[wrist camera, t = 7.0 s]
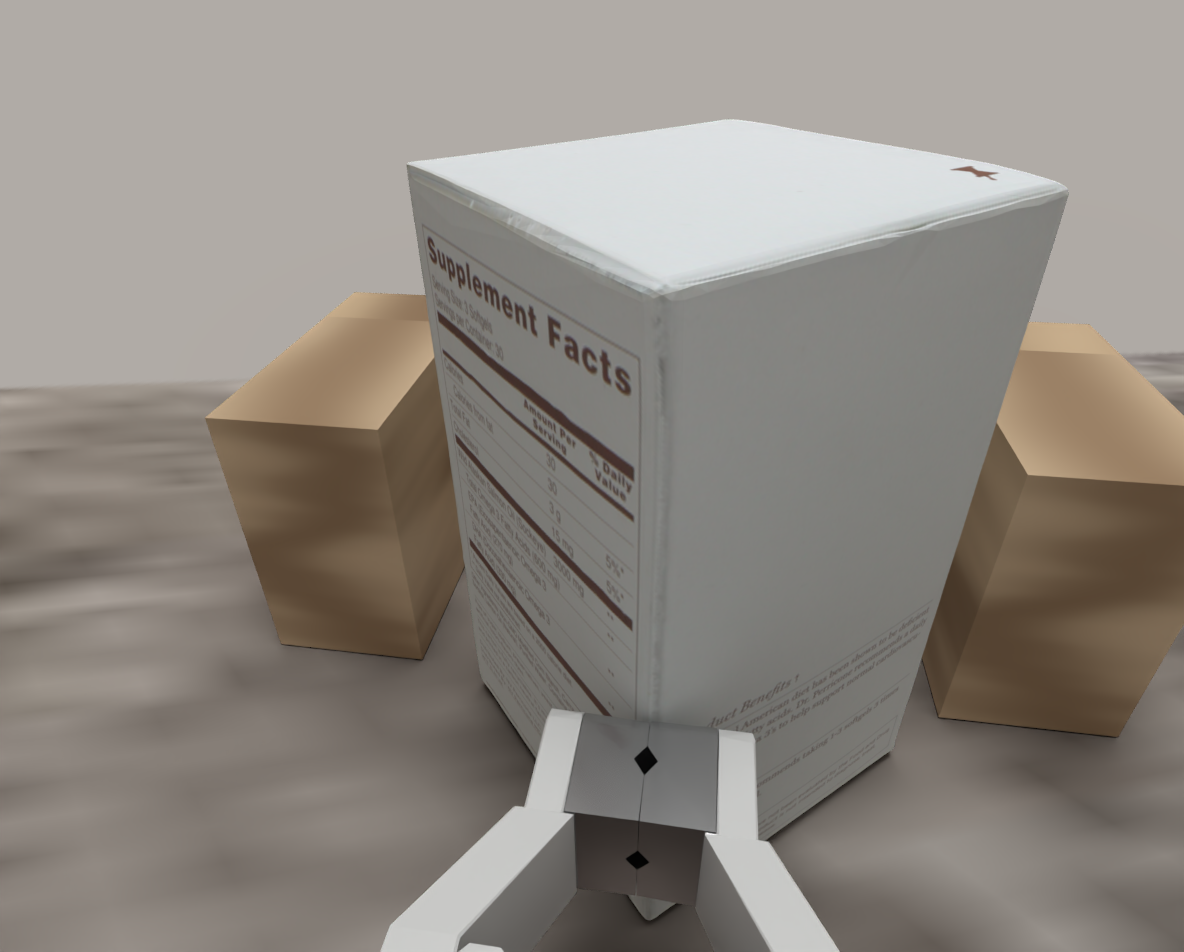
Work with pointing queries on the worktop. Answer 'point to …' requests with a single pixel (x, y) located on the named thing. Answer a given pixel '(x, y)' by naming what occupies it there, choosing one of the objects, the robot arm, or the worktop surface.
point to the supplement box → (722, 422)
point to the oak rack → (971, 592)
